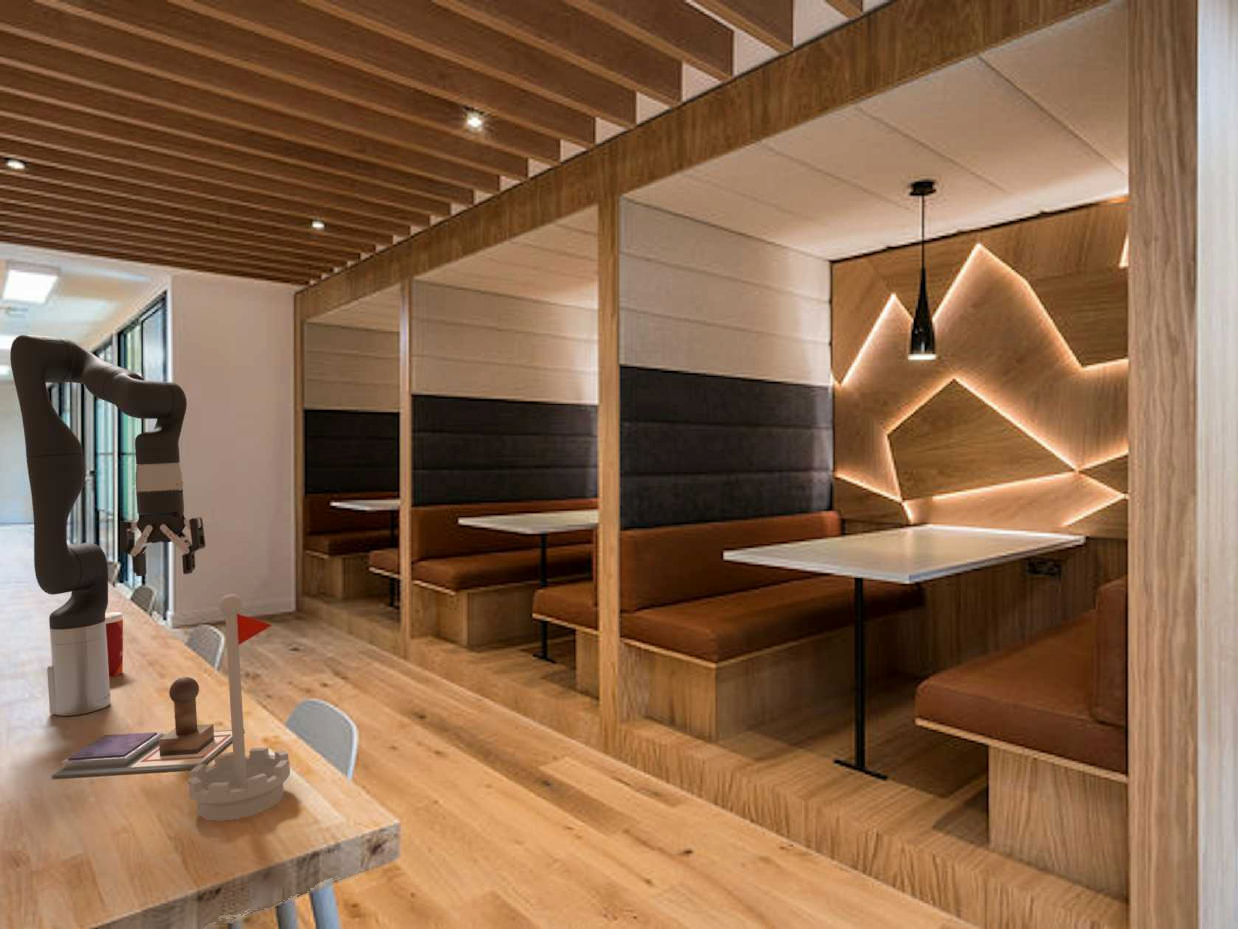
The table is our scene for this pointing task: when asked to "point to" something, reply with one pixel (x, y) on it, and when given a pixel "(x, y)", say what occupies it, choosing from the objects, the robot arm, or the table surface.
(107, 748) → the ink pad
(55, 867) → the table surface
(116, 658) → the paper cup
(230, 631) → the flag stand
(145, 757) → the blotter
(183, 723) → the stamp
